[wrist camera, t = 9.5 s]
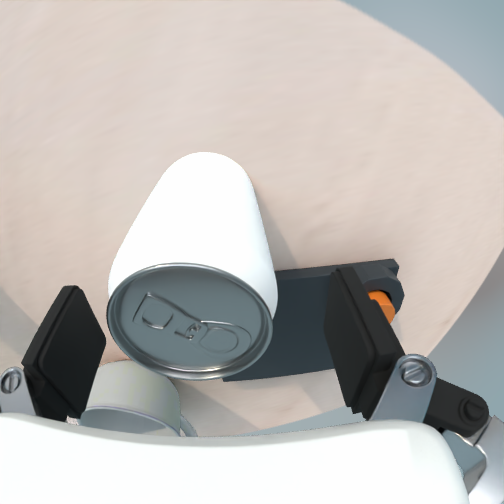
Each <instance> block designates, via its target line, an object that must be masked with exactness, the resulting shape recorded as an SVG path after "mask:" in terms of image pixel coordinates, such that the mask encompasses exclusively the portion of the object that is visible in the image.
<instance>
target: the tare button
mask: <svg viewBox="0 0 504 504" xmlns="http://www.w3.org/2000/svg"><path fill="white" fill-rule="evenodd" d="M368 295H369V297H370V299H371V300H372V299H375V300H377V302H378V303H379V305H380V306H381V308H382V310H383V312H384V314H385V316H386V318H387V319H388V321H389V323H391V322H392V320H393V318H394V316H395V309H394V307H393V305H392V304H391V302H390V300H389V299H388V297H387V296H386V294H385V293H384V292H382V291H379V290H373V291H369V292H368Z"/></svg>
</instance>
